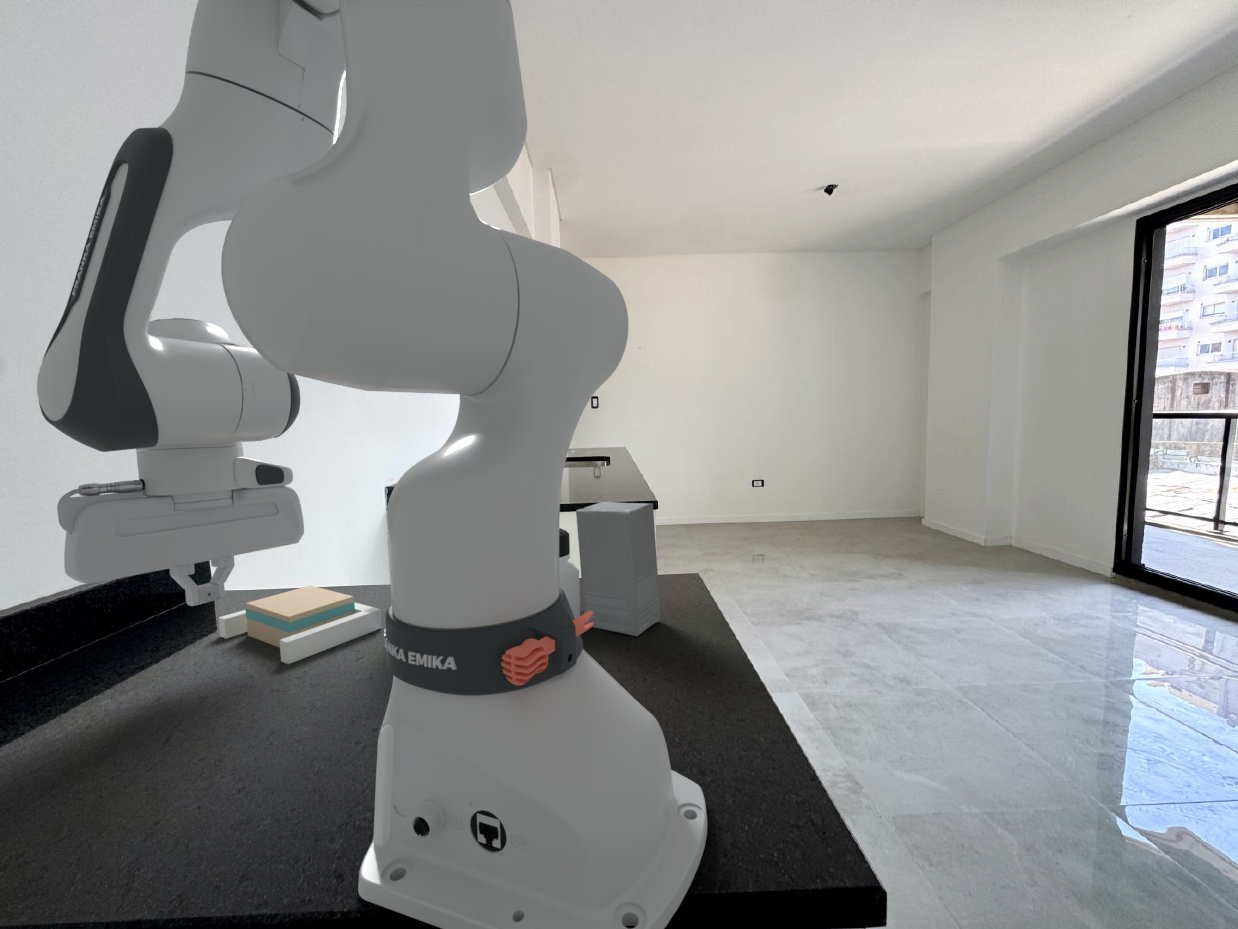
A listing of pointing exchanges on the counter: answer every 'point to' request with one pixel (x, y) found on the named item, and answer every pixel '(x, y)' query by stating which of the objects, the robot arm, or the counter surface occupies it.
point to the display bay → (312, 632)
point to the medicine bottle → (568, 574)
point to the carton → (295, 612)
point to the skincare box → (619, 566)
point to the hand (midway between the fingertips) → (206, 601)
